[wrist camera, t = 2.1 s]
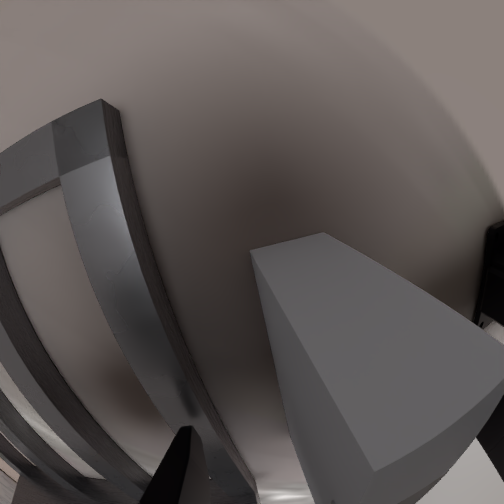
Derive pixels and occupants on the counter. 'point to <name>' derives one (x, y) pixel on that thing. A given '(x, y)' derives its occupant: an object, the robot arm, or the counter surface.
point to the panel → (371, 372)
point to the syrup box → (6, 488)
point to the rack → (117, 314)
